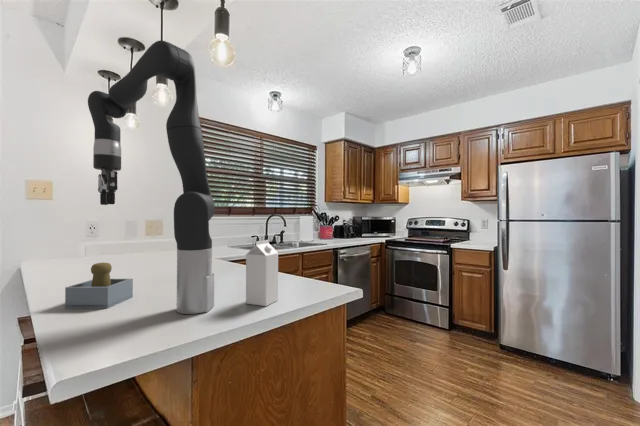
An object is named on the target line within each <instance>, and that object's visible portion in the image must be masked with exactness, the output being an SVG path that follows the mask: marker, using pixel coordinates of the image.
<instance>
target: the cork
mask: <svg viewBox="0 0 640 426" xmlns="http://www.w3.org/2000/svg"><path fill="white" fill-rule="evenodd" d="M112 266H113V265H111V263H110V262H97V263H94V264H92V265H91V268H90V272H91V274H92V279H91V280H92V285H91V287H107V286H110V285H111V280H110V279H111V274H110V273H111V271H112V268H113V267H112Z"/></svg>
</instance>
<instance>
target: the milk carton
mask: <svg viewBox="0 0 640 426" xmlns="http://www.w3.org/2000/svg"><path fill="white" fill-rule="evenodd" d="M278 252H279V251H277V250H276V248H275V247H273V246H272V245H271V244H270V240H269V239H264V240H263V239H262V240H258V241H255V245H254V246H253V247H251V249H250V250H249V251H248V252H247V253H246V254H245V262H246V263H245V304H247V305H254V306H263V307H267V306H269V305H271V304H273V303H275V302H277V301H278V300H279V253H278Z"/></svg>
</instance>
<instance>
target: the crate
mask: <svg viewBox="0 0 640 426" xmlns="http://www.w3.org/2000/svg"><path fill="white" fill-rule="evenodd" d="M110 280H111V285H110V286H107V287H91V285H92V279H90V280H86V281H83V282H80V283H76V284H74V285H69V286H65V288H64V290H65V292H64V293H65V295H64V296H65V297H64V298H65V299H64V300H65V301H64V303H65V304H64V308H65V309H67V310H68V309H69V310H70V309H71V310H72V309H78V310H79V309H95V310H96V309H97V310H98V309H103V310H104V309H106V310H107V308H108V309H109V308H112V307H115V306H116V304H117V305H119V304H120V303H121V304H122V303H123V302H125V301H127V300H129V299H132V298H133V295H134V294H133V291H134V290H133V289H134V281H133V280H134V279H133V278H110Z"/></svg>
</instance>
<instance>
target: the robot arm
mask: <svg viewBox="0 0 640 426" xmlns="http://www.w3.org/2000/svg"><path fill="white" fill-rule="evenodd" d="M156 76H160V77H162V78H165V79H167V80H170V81H173V83H174V87H175V97H176V98H175V103H174V105H173V108H172V109H171V111H170V113H169V115H168V117H167V120H166V124H165V128H166V135H167V141H168V142H167V143H168V148H169V151H170V154H171V156H172V158H173V161H174V163H175V165H176V168H177V170H178V173H179V175H180V178H181V183H182V191H183V193H182V194H180V195H179V196H178V197H177V198H176V200H175V202H174V207H173V235H174V239H175V242H176V313H179V314H180V315H181V314H183V315H184V314H186V315H195V314H201V313H208V312H209V311H210V310H211V309H213V307H215V273H213V265H212V264H213V239H212V237H211V234H210V227H209V226H210V223H209V222H210V220H212V218H213V216H214V214H215V209H216V208H215V203H214V202H215V201H214V199H213V195H212V192H211V188H210V184H209V180H208V175H207V166H206V164H207V163H206V155H205V147H204V138H203V133H202V126H201V121H200V114H199V105H198V99H197V97H198V96H197V82H196V81H197V80H196V66H195V62H194V58H193V56H192V55H191V54H190V53H189V52H188V50H187V51H186V50H185V49H183V48H181V47H179V46H177V45H174V44H173V43H170V42H168V41H165V40H161V39H160V40H157V41H155V42H153V43H152V44H151V45H150V46H149V47H148V48H147V49H146V50H145V51H144V53H143V54H142V56H140V58H139V59H138V60H137V62H136V63H135V64H134V65H133V67H132V68H131V69H130V70H129V72H128V73H127V74H126V75H125V76H123V77H122V78H120V79H119V80H118V81H117V82H115V83H114V84H113V85H112V86H110V87H109V90H108V93H107V92H103V91H100V90H94V91H91V92H90V93H89V95H88V97H87V107H88V109H89V113H90V116H91V119H92V124H93V128H94V141H93V142H94V143H93V150H92V151H93V162H92V163H93V164H92V165H93V169H95V170H100V173H99V174H98V177H97V180H98V183H97V185H98V186H97V187H98V188H97V191H98V193H99V197H100V198H99V199H100V200H99V202H100V203H99V204H100V205H102V206H108V205H115V203H116V192H117V191H118V171H119V172H120V171H121V170H122V146H121V127H120V126H119V125H117V124H116V123H114V122H112V121H111V120H110V119H109V118H114V119H122V118H124V117H125V116H126V115H127V113H128V111H129V110H130V108H131V107H132V105H133V104H136V102H138V101H140V100H141V99H142V98H144V96H145V95H146V93H147V90H148V81H149V80H150V79H151V78H154V77H156ZM108 117H109V118H108Z"/></svg>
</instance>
